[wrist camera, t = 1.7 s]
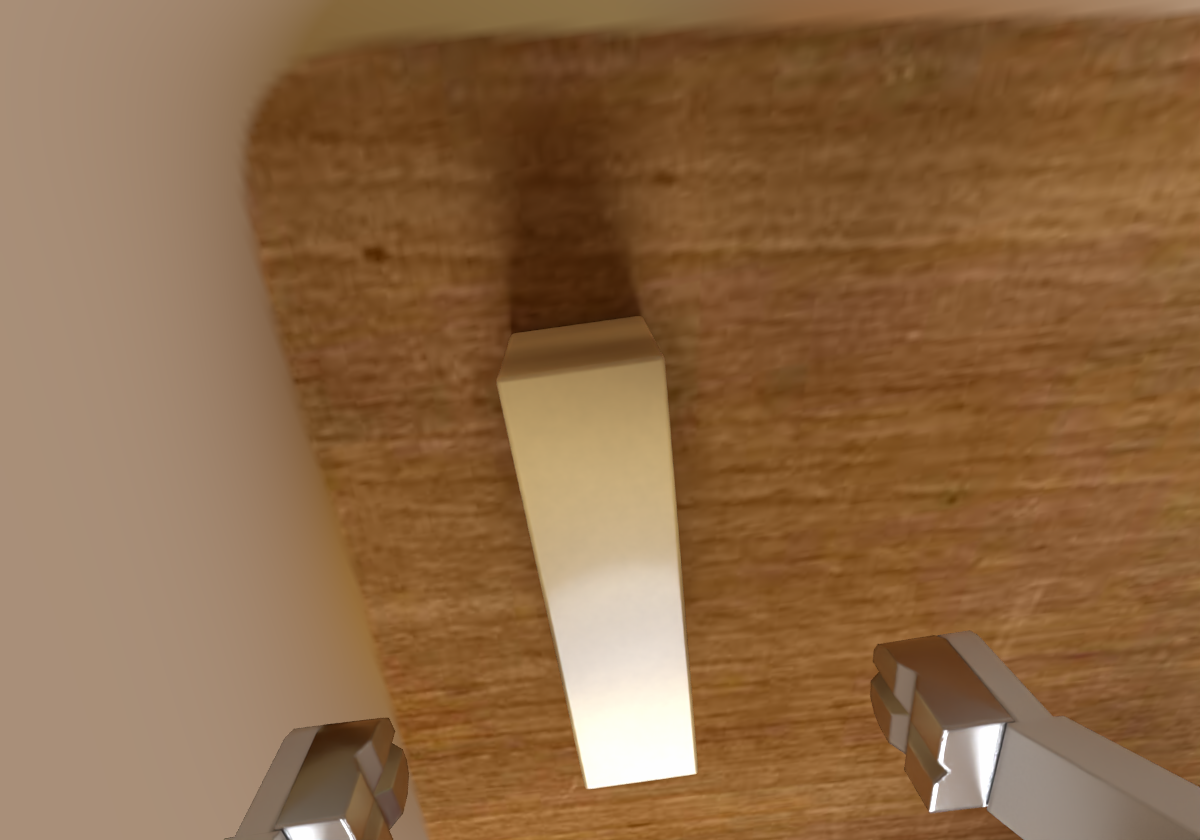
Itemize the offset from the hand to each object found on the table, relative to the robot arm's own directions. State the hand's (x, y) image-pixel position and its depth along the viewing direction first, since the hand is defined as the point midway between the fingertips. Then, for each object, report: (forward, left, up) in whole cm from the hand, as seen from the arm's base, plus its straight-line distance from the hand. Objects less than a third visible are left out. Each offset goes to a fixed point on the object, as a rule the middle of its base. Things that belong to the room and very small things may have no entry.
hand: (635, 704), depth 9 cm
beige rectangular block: (-1, 0, -4) cm, 4 cm away
